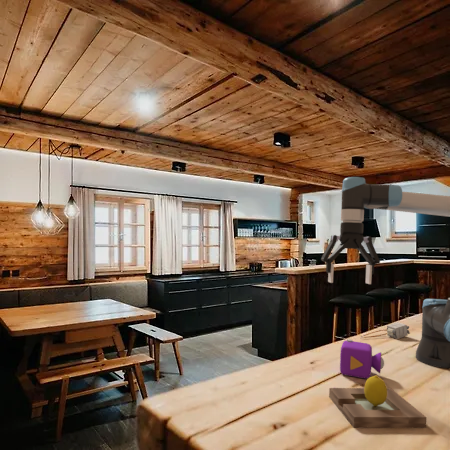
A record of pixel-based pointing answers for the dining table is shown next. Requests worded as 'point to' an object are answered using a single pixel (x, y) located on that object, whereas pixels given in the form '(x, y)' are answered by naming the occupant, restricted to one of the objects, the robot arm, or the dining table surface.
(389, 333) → the electrical component
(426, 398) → the dining table surface
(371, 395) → the lemon
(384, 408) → the pocket board
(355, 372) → the toy camera
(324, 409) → the dining table surface
